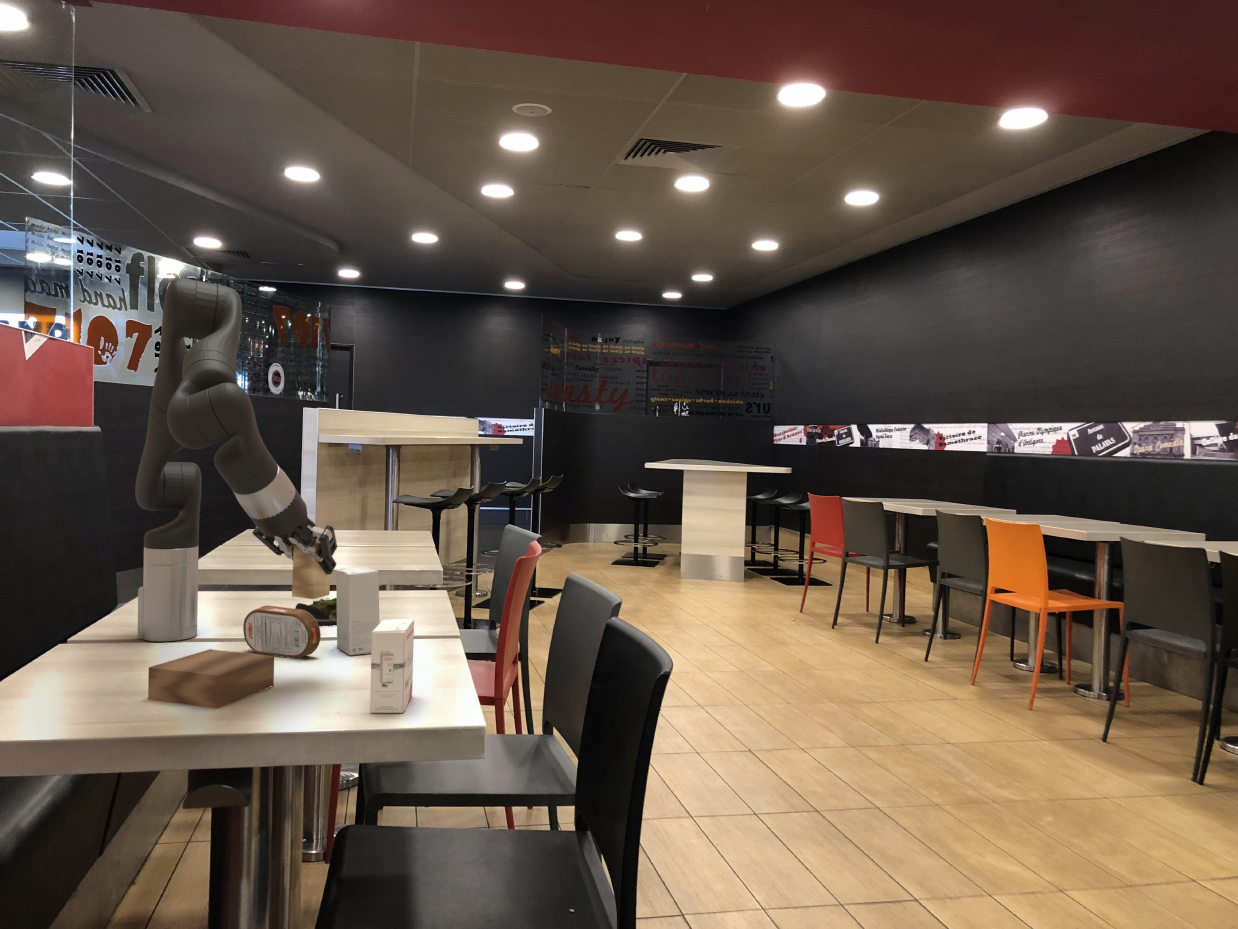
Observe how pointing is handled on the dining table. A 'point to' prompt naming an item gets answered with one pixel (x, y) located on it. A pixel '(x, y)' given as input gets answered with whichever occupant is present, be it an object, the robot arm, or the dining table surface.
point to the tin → (281, 631)
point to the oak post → (308, 576)
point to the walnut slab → (210, 678)
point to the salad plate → (322, 611)
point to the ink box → (392, 666)
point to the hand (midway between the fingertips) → (319, 568)
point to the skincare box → (357, 608)
